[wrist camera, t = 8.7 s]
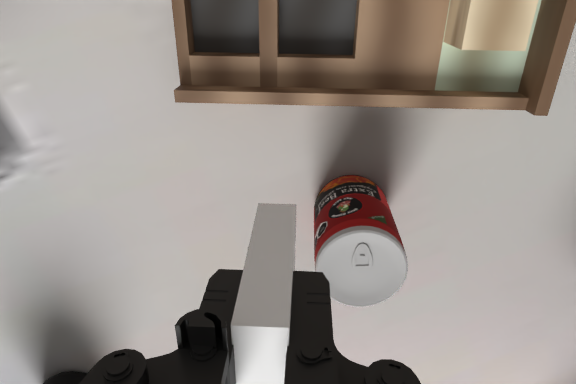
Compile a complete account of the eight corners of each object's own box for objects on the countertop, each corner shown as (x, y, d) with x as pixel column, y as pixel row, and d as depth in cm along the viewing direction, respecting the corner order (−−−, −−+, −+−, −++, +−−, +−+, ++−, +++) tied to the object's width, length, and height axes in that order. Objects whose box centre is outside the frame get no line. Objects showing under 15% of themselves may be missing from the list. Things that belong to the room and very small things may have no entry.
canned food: (376, 163, 41) (396, 218, 32) (394, 227, 45) (418, 296, 35) (303, 184, 43) (301, 244, 33) (326, 246, 46) (330, 316, 36)
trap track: (560, -87, 32) (612, -100, 26) (513, 96, 38) (547, 115, 33) (171, -89, 33) (144, -103, 27) (189, 90, 39) (169, 106, 34)
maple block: (513, -20, 31) (543, -20, 27) (499, 42, 34) (525, 51, 30) (453, -21, 32) (475, -21, 28) (443, 41, 34) (461, 49, 30)
